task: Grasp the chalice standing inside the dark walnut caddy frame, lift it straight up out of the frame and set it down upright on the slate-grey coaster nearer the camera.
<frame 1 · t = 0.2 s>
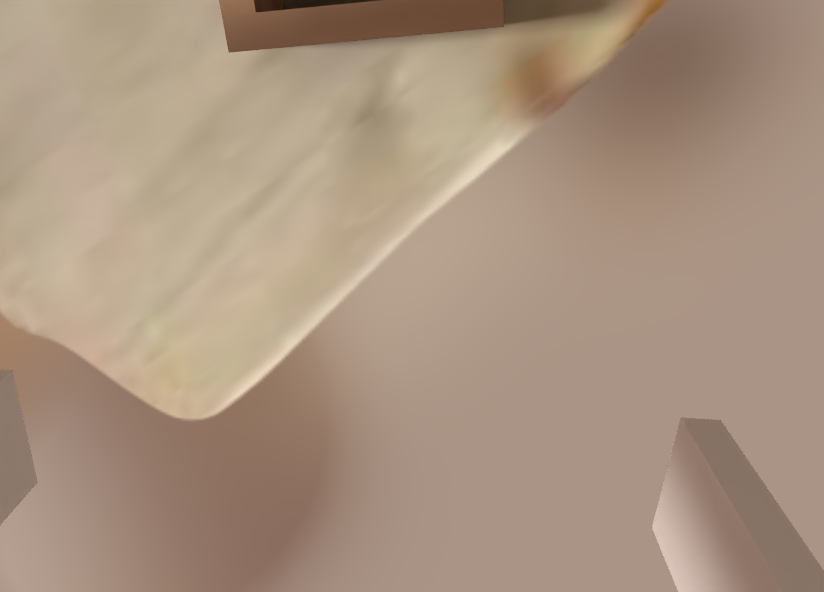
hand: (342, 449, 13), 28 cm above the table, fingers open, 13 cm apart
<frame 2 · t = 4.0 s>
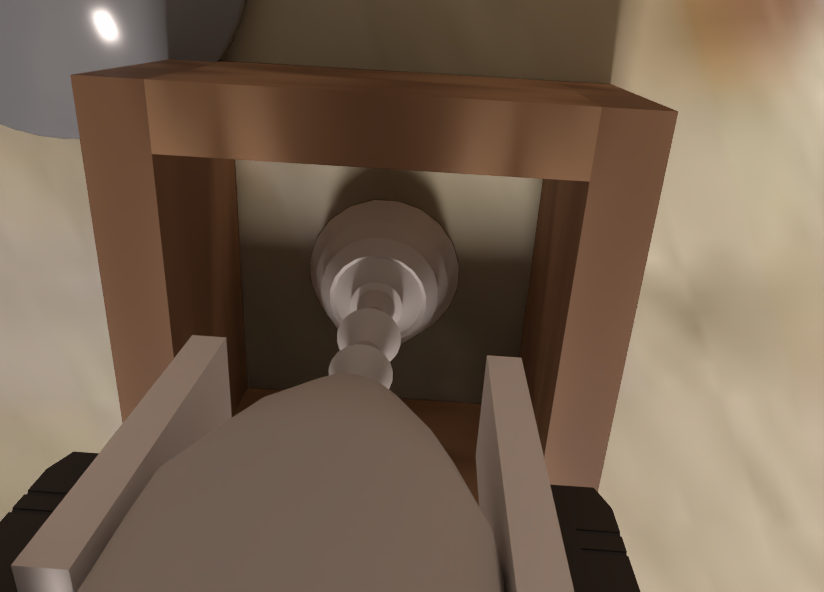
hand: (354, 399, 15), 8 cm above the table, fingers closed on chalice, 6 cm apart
caddy: (384, 273, 22), on the table
chalice: (384, 271, 22), resting in caddy, touching gripper
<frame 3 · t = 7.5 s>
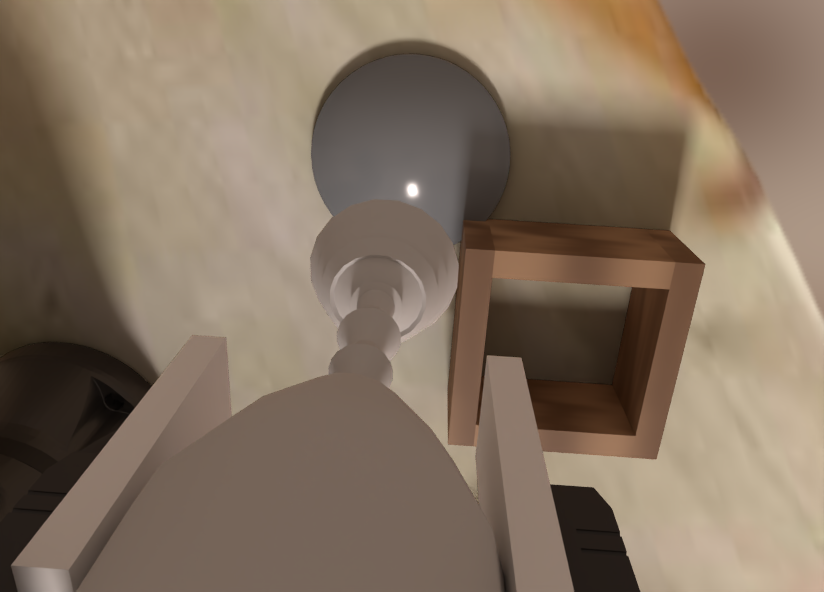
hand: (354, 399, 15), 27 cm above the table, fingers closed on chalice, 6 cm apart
caddy: (551, 317, 43), on the table
coaster: (410, 158, 39), on the table
chalice: (384, 270, 22), point 19 cm above the table, touching gripper
when the fingers open (10 cm above the table, at t = 11.2 s): chalice drops 1 cm, resting on coaster.
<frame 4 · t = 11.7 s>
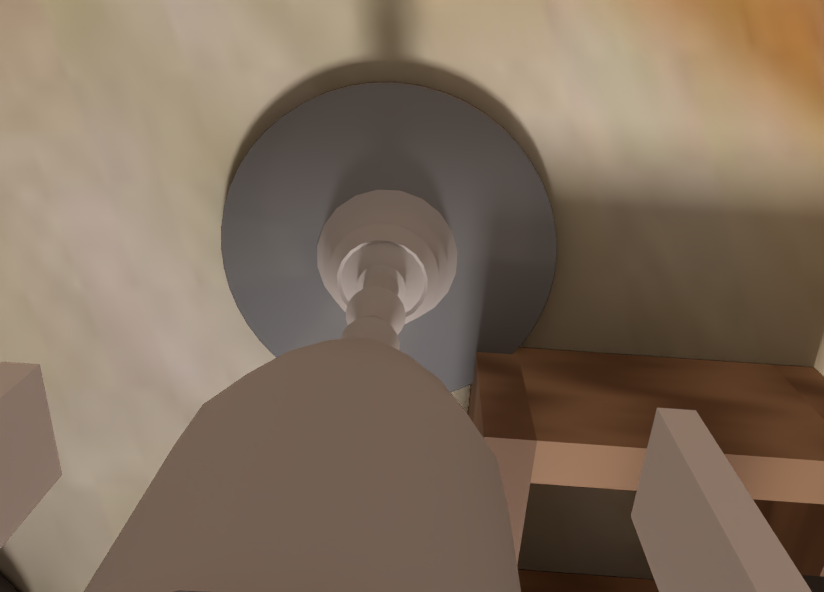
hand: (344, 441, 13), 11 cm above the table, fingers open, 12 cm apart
caddy: (613, 489, 27), on the table
coaster: (388, 253, 24), on the table
chalice: (387, 257, 23), resting on coaster
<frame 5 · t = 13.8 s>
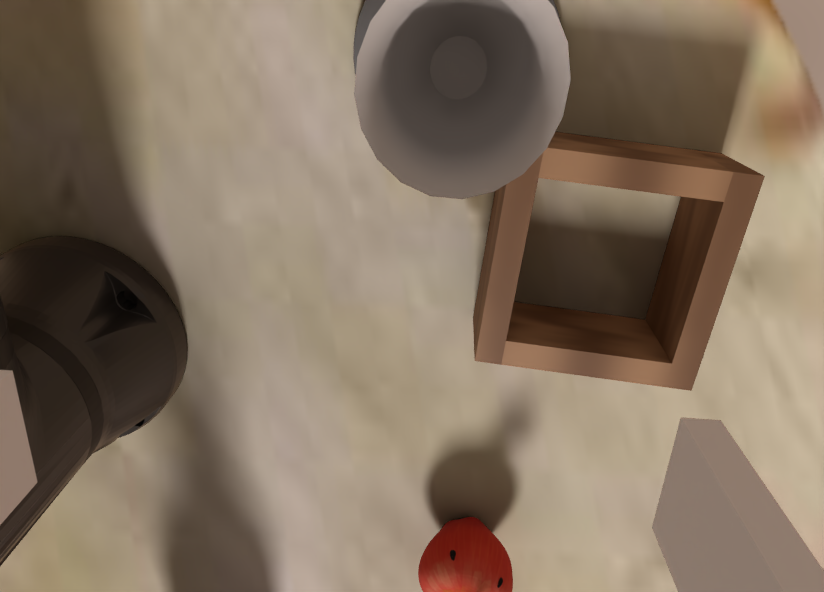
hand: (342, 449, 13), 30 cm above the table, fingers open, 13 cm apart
caddy: (589, 241, 41), on the table
coaster: (457, 56, 38), on the table
apple: (468, 527, 52), on the table
chalice: (456, 57, 37), resting on coaster
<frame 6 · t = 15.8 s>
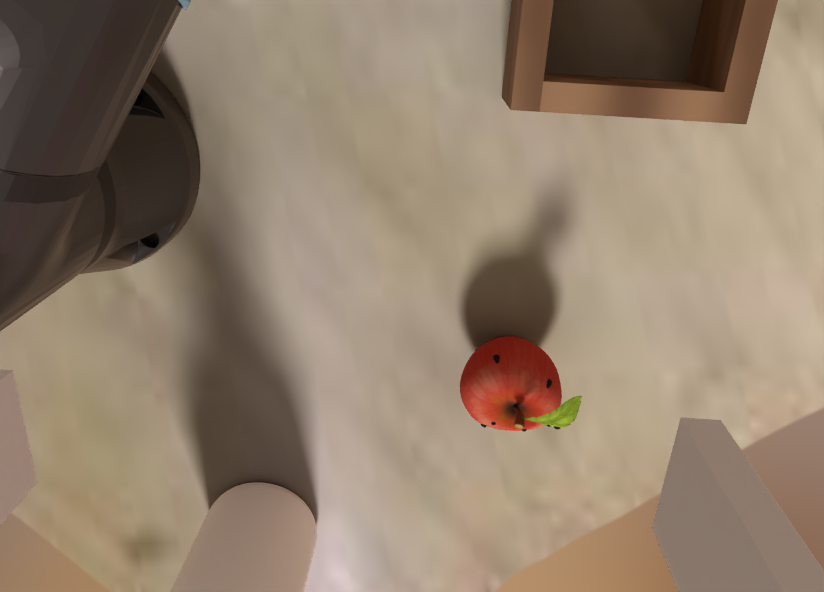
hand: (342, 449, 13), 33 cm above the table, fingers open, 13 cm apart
apple: (508, 352, 49), on the table
wine bottle: (265, 518, 57), on the table
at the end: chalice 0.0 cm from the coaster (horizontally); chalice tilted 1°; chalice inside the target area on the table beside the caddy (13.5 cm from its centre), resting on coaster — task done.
